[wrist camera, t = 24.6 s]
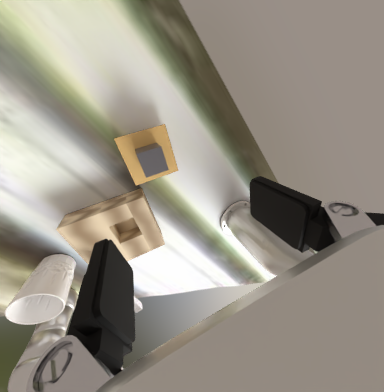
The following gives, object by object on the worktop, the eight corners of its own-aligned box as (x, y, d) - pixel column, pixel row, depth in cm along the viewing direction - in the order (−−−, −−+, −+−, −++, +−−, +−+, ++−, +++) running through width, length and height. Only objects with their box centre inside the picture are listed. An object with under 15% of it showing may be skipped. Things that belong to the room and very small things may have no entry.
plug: (160, 123, 30) (171, 124, 23) (173, 165, 35) (185, 178, 28) (115, 136, 29) (111, 142, 21) (135, 179, 33) (137, 196, 26)
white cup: (64, 280, 37) (46, 327, 29) (26, 270, 33) (-8, 321, 25) (86, 259, 37) (74, 299, 29) (51, 246, 33) (25, 289, 24)
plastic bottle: (51, 283, 36) (-14, 421, 20) (84, 284, 40) (52, 403, 23) (43, 302, 38) (-24, 446, 21) (75, 301, 41) (40, 425, 24)
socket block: (141, 187, 34) (143, 197, 30) (161, 231, 42) (164, 244, 37) (65, 214, 31) (55, 229, 27) (100, 257, 38) (97, 274, 34)
